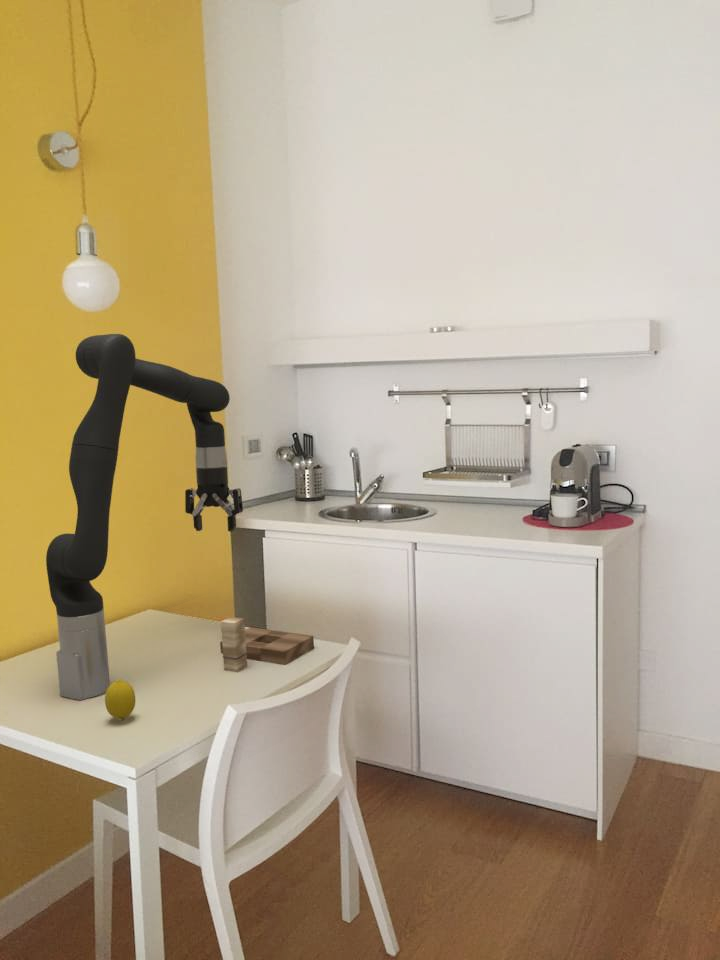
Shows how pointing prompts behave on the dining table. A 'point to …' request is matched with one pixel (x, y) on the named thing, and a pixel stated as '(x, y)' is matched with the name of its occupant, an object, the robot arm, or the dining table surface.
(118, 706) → the lemon
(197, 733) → the dining table surface
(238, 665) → the beech peg
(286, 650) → the walnut board
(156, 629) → the dining table surface
